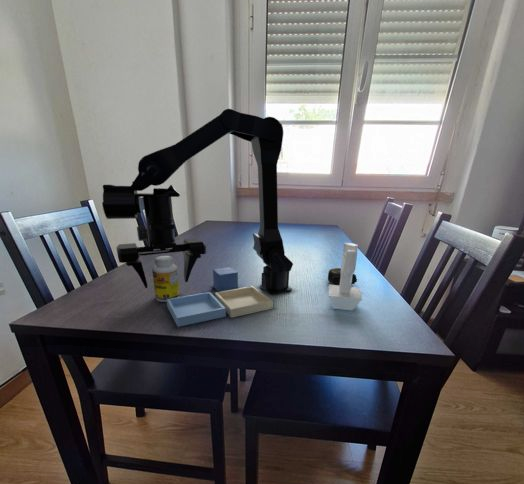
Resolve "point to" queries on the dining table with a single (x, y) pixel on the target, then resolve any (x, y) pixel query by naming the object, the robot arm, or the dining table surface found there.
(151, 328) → the dining table surface
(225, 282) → the blue block
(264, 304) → the cream tray
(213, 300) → the blue tray
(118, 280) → the dining table surface
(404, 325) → the dining table surface
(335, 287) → the white joystick
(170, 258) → the supplement bottle
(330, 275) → the tape measure
